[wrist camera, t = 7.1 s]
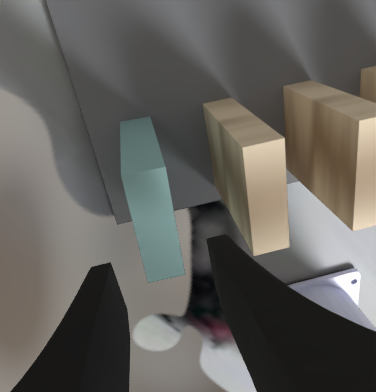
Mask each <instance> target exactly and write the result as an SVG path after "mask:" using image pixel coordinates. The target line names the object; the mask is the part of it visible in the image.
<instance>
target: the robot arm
mask: <svg viewBox="0 0 376 392" xmlns="http://www.w3.org/2000/svg"><path fill="white" fill-rule="evenodd" d="M207 244H208V250H209V256H210V261H211V267H212V272H213V278H214V283H215V288H216V291H217V295H218V298H219V301H220V304H221V307H222V311H223V314H224V316H225V319H226V321H227V323H228V326H229V328H230V330H231V332H232V335H233V337H234V339H235V342H236V344H237V346H238V348H239V351H240V353H241V355H242V357H243V360H244V362H245V364H246V367H247V369H248V371H249V373H250V376H251V378H252V381H253V383H254V386H255V388H256V391H257V392H376V328H375V327H374V326H373V324H372V323H371V322H370V321H369V319H368V318H367V317H366V316H365V314H364V313H363V312H362V311H361V310H360V308H359V307H358V299H359V286H360V272H359V271H358V270H357V269H355V268H352V269H348V270H344V271H341V272H337V273H333V274H329V275H325V276H321V277H318V278H314V279H310V280H306V281H302V282H298V283H295V284H291V285H286V284H285V283H283V282H282V281H280V280H279V279H278V278H276V277H275V276H274V275H272V274H271V273H270V272H268V271H267V270H266V269H264V268H263V267H262V266H261V265H259V264H258V263H257V262H256V261H254V260H253V259H252V258H251V257H250V256H249V255H248V254H246V253H245V252H244V251H243V250H242V249H241V248H240V247H239V246H238V245H237V244H236V243H235V242H234V241H233V240H232V239H231V238H230V237H229V236H227V235H225V234H224V235H220V236H216V237H212V238H208V239H207ZM129 371H130V332H129V322H128V312H127V307H126V305H125V302H124V299H123V296H122V293H121V291H120V287H119V285H118V282H117V279H116V276H115V273H114V270H113V268H112V265H111V263H106V264H102V265H98V266H94V267H91V269H90V270H89V272H88V274H87V276H86V278H85V279H84V281H83V283H82V285H81V287H80V289H79V291H78V293H77V295H76V296H75V298H74V300H73V302H72V304H71V305H70V307H69V309H68V311H67V312H66V314H65V316H64V318H63V319H62V321H61V323H60V324H59V326H58V327H57V329H56V331H55V332H54V334H53V335H52V337H51V338H50V340H49V341H48V343H47V345H46V346H45V347H44V349H43V350H42V352H41V353H40V355H39V356H38V357H37V359H36V360H35V362H34V363H33V364H32V366H31V367H30V368H29V370H28V371H27V372H26V374H25V375H24V376H23V377H22V379H21V380H20V381H19V382H18V384H17V385H16V386H15V387H14V388H13V389H12V391H11V392H129Z"/></svg>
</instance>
